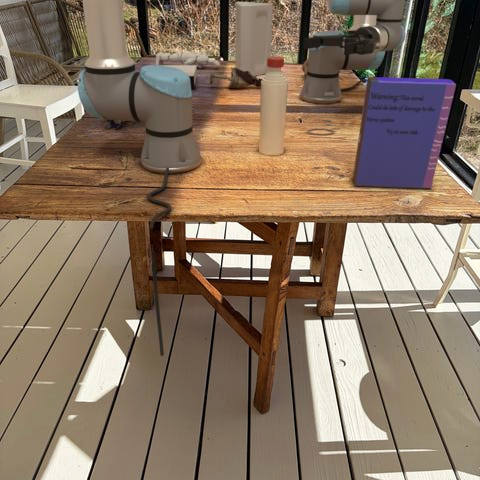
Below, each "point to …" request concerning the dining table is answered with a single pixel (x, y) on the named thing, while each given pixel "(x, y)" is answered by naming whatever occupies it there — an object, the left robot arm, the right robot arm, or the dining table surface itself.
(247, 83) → the figurine
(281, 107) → the bottle
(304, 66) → the anatomical model
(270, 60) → the cap
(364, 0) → the right robot arm
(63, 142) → the dining table surface
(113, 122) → the figurine character
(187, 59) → the toy
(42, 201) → the dining table surface
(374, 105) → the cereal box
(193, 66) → the disc drive
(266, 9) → the tall white box
